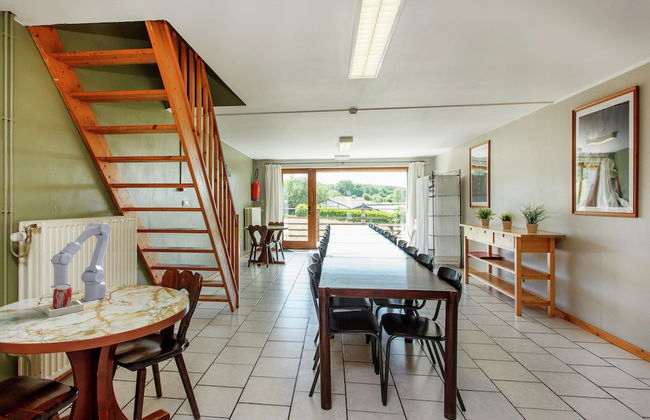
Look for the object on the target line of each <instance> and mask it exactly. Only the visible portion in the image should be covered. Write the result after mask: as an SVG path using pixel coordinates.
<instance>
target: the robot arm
mask: <svg viewBox="0 0 650 420" xmlns="http://www.w3.org/2000/svg"><path fill="white" fill-rule="evenodd" d="M111 229H112V228H111V226H110V224H109V223H108V222H94V221H92V222H90V223H88V225H86V226H85V230H84V231H82V232H81V234H80V235H79V236H77V238H76V239H75V240H74V241H70V242H68V243H66V245H65V247H64V248H63V249H61V250H59V253H55V254H54V255H53V256H52V257H51V259H50V262H51V264H52V266H53V285H51V286H50V288H51V289H53V288H54V289H55V288H56V286H57V285H60V284H69V277H70V276H69V275H70V274H69V272H70V271H69V270H70V268H69V267H70V265H69V264H70V263H71V262H72V260H73V258H74V256H75V255H76V254H77V253H78V252H79V251H80V250H81V248H82V245H83V244H84V243H85V242H86V241H88V239H90V238H91V237H92V236H94V237H95V238H96V239H97V240H96V243H95V247H94V251H93V253H92V257H91V261H90V262H89V263H90V264H89V266H87V267H86V268H85V269H84V272H82V274H81V276H80V279H81V282H83V284H84V297H82V300H84V301H85V302H88V301H93V300H99V299H104V298H107V296H106V294H107V293H106V291H107V289H106V282H105V281H103V280H104V278H105V274H104V273H105V270H104V268H103V267H102V266H103V262H104V258H105V255H106V252H107V249H108V245H109V242H110V235H111V234H110V232H111ZM62 288H63V287H62Z"/></svg>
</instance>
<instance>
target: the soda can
mask: <svg viewBox="0 0 650 420" xmlns="http://www.w3.org/2000/svg"><path fill="white" fill-rule="evenodd" d="M62 287H63V288H62ZM72 293H73V289H72V286H71V284H70V283H68V284H60V285H57V286H56V288H54V289H53V293H52V295H53V296H52V308H53V309H52V310H55V309H60V308H65V307H71V305H72V296H73V295H72Z"/></svg>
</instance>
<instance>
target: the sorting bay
mask: <svg viewBox="0 0 650 420" xmlns="http://www.w3.org/2000/svg"><path fill="white" fill-rule="evenodd" d="M84 305H85V304H84V303H82V301H80V300H79V299H76V300H74V305H72V306H71V305H70V307H65V308H60V309H52V308H50V306H49V305H44V313H45V315H47V317H48V318H53V317H58V316H63V315H69V314H71V313H77V312H82V311H84V309H85V307H84Z"/></svg>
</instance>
